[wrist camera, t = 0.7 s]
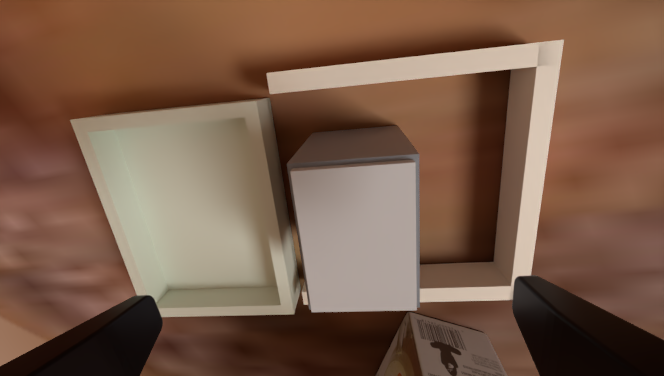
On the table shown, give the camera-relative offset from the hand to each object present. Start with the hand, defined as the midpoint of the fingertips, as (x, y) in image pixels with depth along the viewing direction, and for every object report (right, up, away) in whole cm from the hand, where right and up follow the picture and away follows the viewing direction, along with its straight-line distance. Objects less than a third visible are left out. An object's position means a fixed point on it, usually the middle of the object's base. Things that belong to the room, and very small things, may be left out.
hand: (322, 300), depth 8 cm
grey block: (+2, +3, +12) cm, 12 cm away
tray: (-8, +1, +13) cm, 15 cm away
